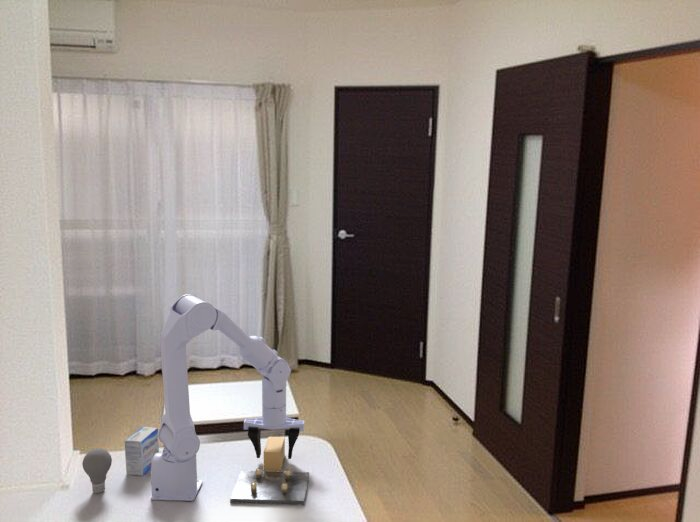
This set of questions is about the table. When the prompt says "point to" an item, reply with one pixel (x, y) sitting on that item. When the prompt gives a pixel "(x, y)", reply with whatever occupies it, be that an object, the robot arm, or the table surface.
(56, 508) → the table surface
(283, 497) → the chassis plate
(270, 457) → the ochre block
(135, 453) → the medicine box
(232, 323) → the robot arm
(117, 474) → the table surface
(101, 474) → the light bulb
